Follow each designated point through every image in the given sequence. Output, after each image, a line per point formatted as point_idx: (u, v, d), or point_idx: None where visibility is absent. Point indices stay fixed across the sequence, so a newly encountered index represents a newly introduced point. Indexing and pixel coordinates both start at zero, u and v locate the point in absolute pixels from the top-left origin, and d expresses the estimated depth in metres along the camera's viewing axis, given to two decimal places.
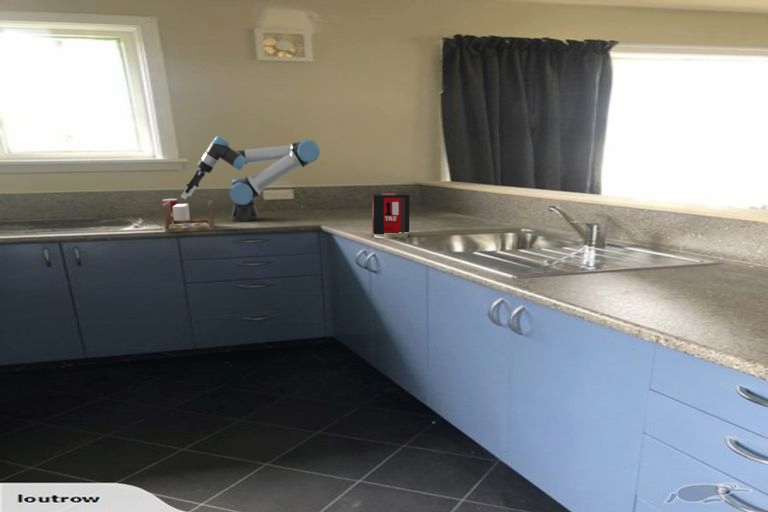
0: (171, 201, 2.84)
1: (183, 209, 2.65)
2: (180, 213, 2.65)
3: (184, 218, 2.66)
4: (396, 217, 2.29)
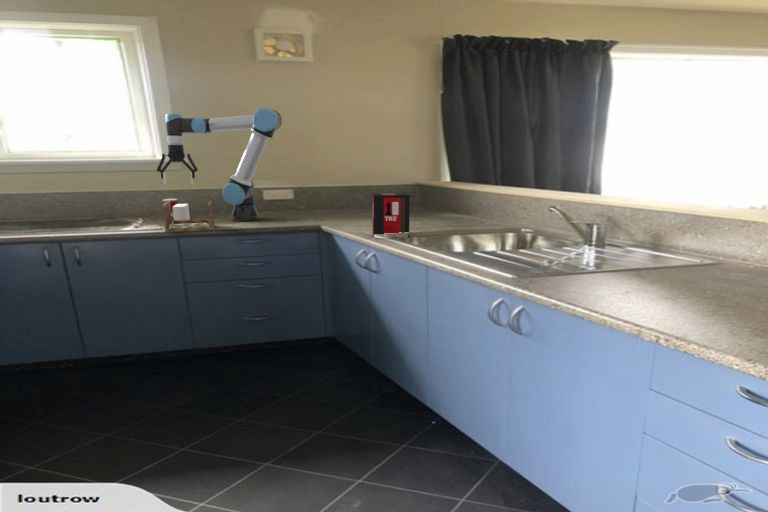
0: (171, 201, 2.84)
1: (183, 209, 2.65)
2: (180, 213, 2.65)
3: (184, 218, 2.66)
4: (396, 217, 2.29)
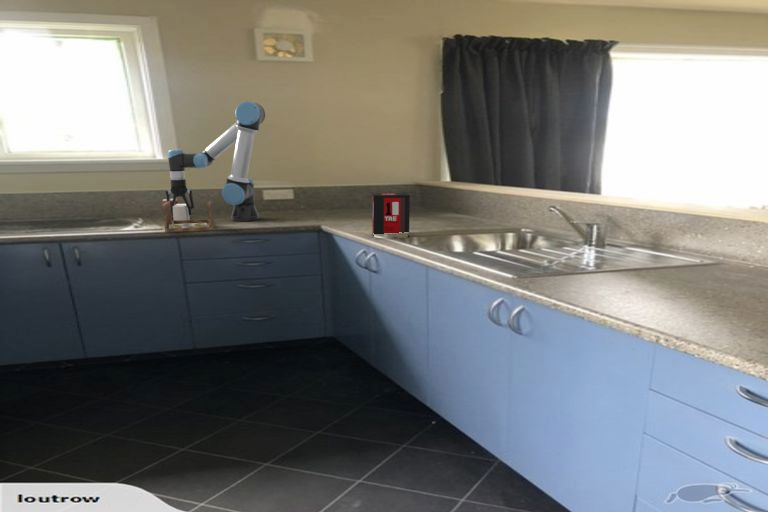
0: (171, 201, 2.84)
1: (183, 209, 2.65)
2: (180, 213, 2.65)
3: (184, 218, 2.66)
4: (396, 217, 2.29)
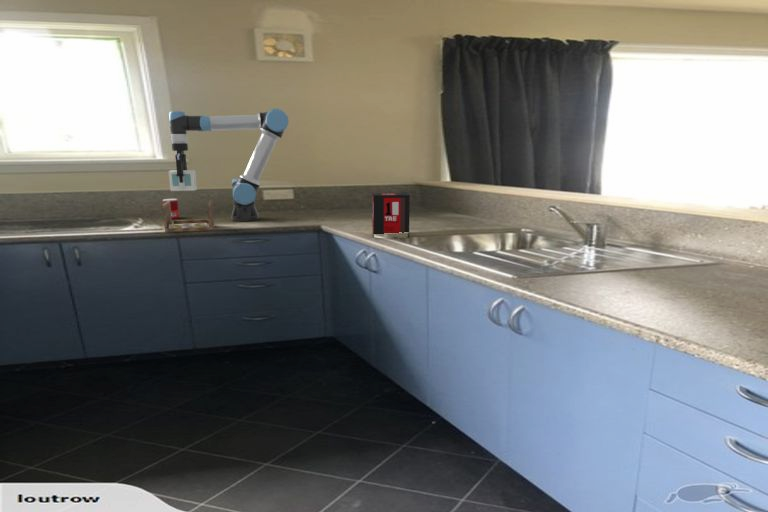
0: (171, 201, 2.84)
1: (195, 173, 2.61)
2: (195, 177, 2.60)
3: None
4: (396, 217, 2.29)
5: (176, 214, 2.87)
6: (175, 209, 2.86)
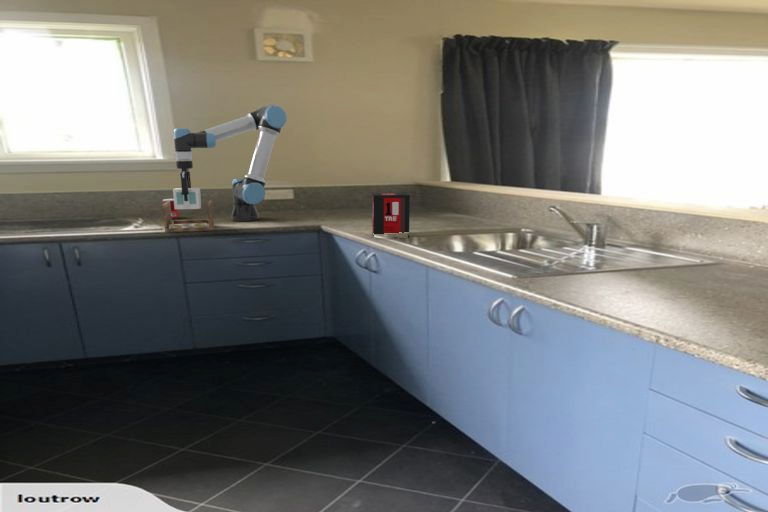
0: (171, 201, 2.84)
1: (199, 191, 2.56)
2: (199, 195, 2.54)
3: (200, 200, 2.57)
4: (396, 217, 2.29)
5: (176, 214, 2.87)
6: (175, 209, 2.86)
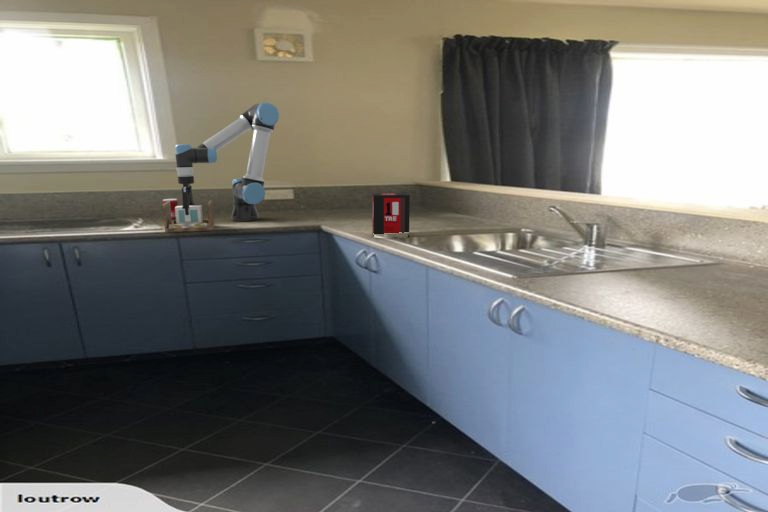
0: (171, 201, 2.84)
1: (201, 208, 2.58)
2: (201, 212, 2.57)
3: (202, 217, 2.59)
4: (396, 217, 2.29)
5: None
6: None
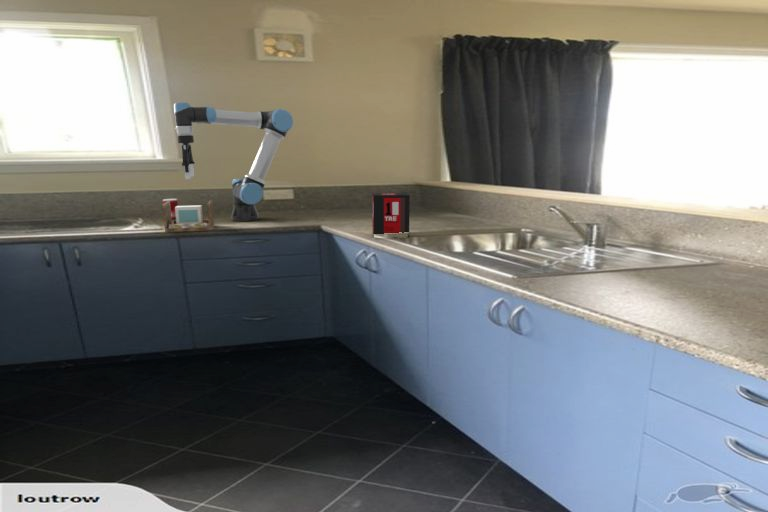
0: (171, 201, 2.84)
1: (201, 208, 2.58)
2: (201, 212, 2.57)
3: (202, 217, 2.59)
4: (396, 217, 2.29)
5: None
6: None
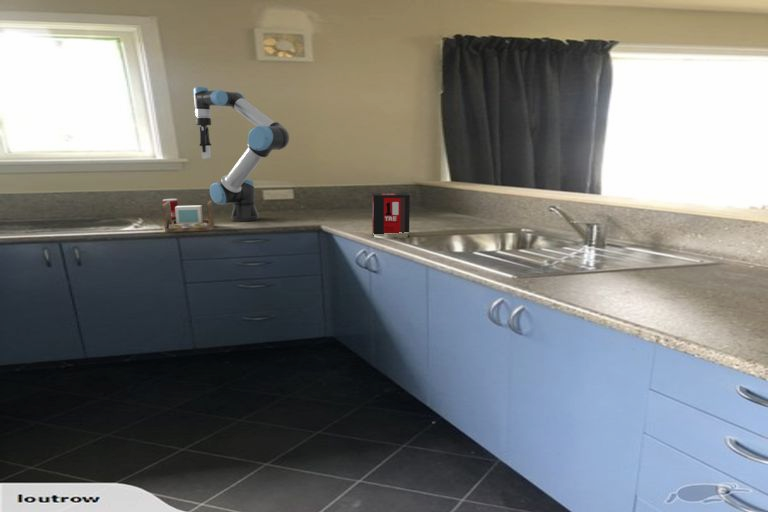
0: (171, 201, 2.84)
1: (201, 208, 2.58)
2: (201, 212, 2.57)
3: (202, 217, 2.59)
4: (396, 217, 2.29)
5: None
6: None
